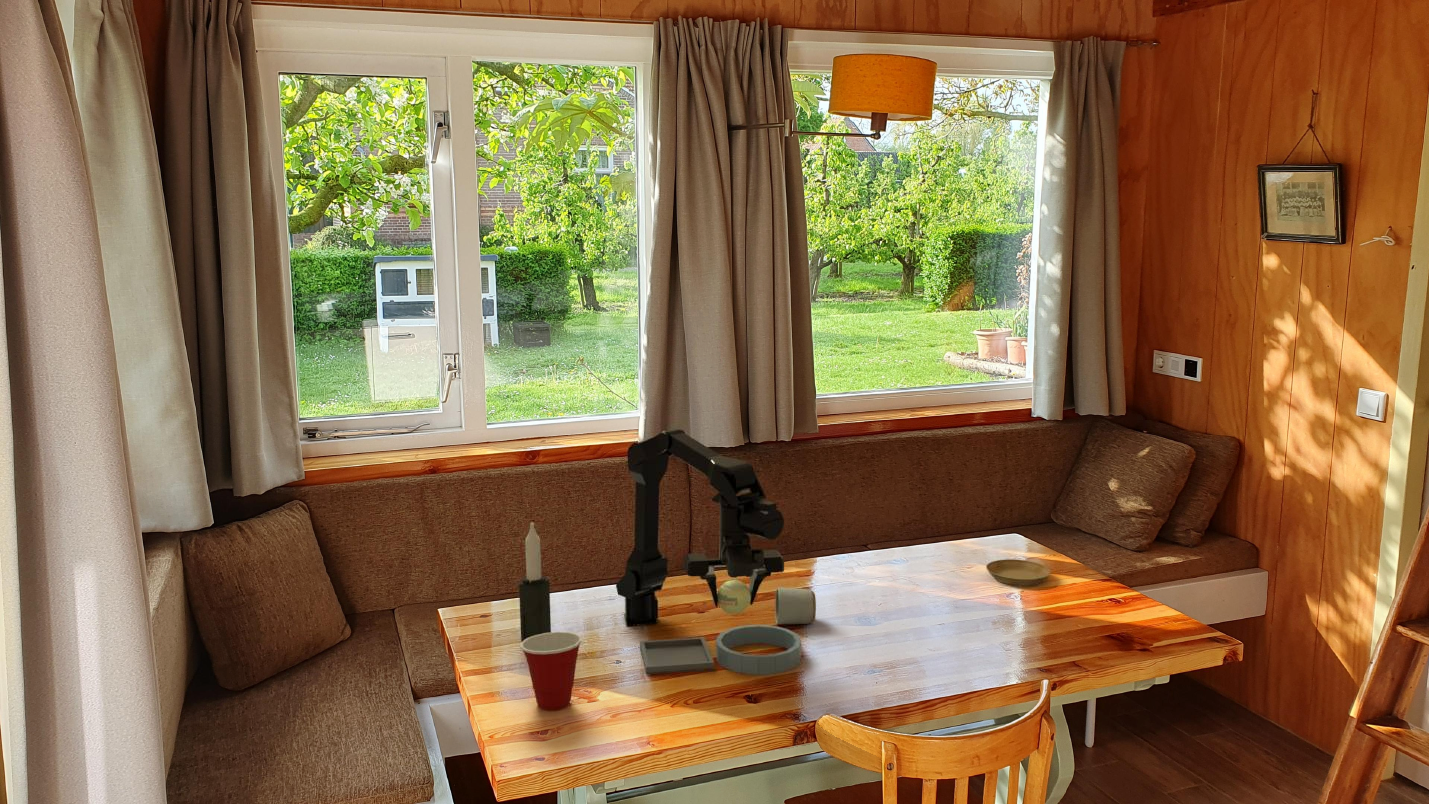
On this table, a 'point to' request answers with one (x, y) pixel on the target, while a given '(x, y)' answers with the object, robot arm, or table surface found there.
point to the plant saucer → (1018, 572)
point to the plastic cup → (552, 667)
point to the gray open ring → (758, 662)
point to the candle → (534, 592)
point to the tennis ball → (734, 597)
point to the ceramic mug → (795, 606)
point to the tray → (676, 655)
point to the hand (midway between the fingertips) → (733, 605)
